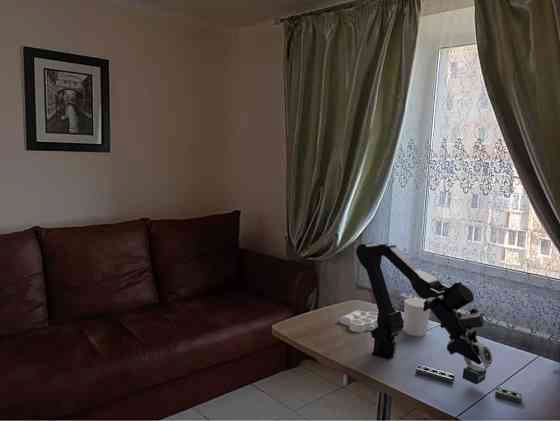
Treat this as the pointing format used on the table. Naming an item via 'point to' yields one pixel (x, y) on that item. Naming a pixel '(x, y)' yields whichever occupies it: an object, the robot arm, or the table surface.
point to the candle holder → (415, 317)
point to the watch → (475, 372)
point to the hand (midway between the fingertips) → (481, 360)
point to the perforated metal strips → (449, 378)
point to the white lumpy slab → (360, 321)
